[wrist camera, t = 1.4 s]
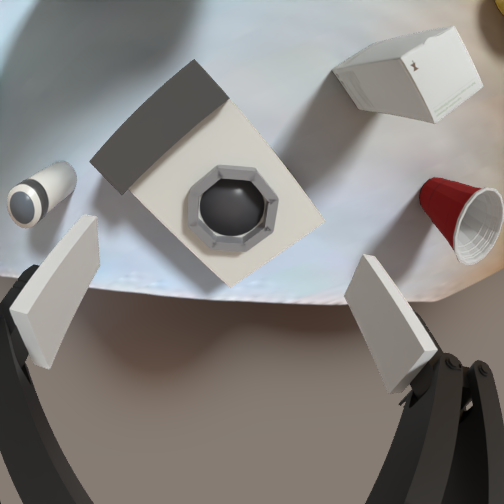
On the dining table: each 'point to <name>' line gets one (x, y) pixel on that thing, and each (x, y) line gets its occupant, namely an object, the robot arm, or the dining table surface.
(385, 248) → the dining table surface
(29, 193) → the lens
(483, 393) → the robot arm
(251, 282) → the dining table surface
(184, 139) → the camera body
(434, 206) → the plastic cup
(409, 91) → the skincare box
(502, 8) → the plant pot
